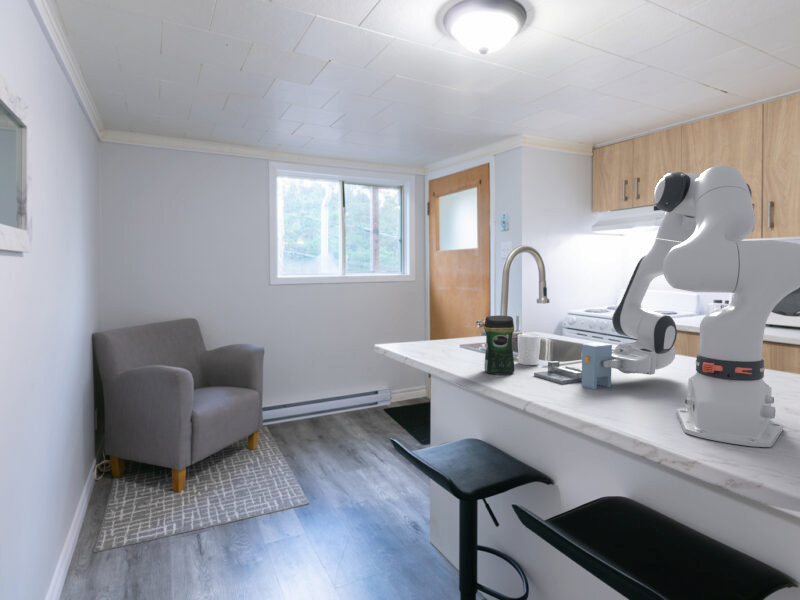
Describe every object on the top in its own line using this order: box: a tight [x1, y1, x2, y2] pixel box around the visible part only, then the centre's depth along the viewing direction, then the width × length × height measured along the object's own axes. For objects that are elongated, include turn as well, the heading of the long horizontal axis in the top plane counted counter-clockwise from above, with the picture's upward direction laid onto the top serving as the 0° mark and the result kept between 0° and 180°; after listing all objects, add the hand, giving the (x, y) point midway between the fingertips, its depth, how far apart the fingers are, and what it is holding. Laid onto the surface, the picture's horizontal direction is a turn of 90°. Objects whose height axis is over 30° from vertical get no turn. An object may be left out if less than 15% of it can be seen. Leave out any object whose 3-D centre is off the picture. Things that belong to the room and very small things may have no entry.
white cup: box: [517, 333, 542, 366], centre depth 165 cm, size 8×8×10 cm
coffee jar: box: [483, 314, 516, 375], centre depth 151 cm, size 10×8×19 cm
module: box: [581, 342, 613, 390], centre depth 132 cm, size 4×7×12 cm, turn 115°
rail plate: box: [533, 360, 582, 385], centre depth 143 cm, size 12×14×4 cm
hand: (594, 362), depth 132 cm, fingers closed on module, 4 cm apart
